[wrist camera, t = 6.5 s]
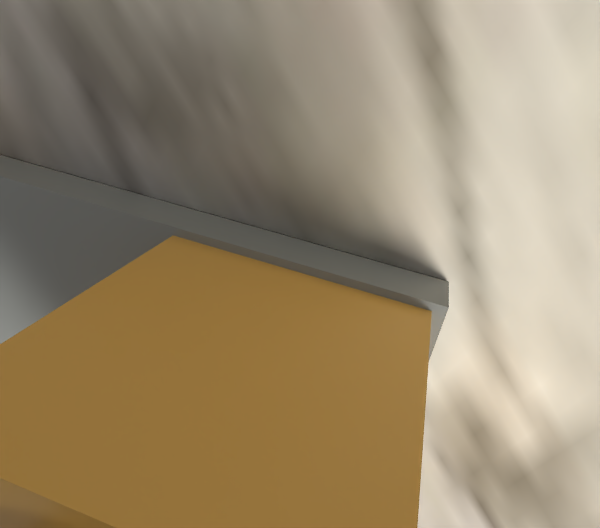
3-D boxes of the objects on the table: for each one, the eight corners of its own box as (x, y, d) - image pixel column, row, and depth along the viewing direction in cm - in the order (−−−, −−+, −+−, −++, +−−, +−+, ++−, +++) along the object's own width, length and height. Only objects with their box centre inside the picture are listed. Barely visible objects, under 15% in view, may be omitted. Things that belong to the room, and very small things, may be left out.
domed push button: (364, 503, 12) (274, 976, 6) (160, 426, 13) (-102, 758, 7) (431, 310, 9) (400, 785, 3) (173, 235, 10) (-225, 485, 4)
